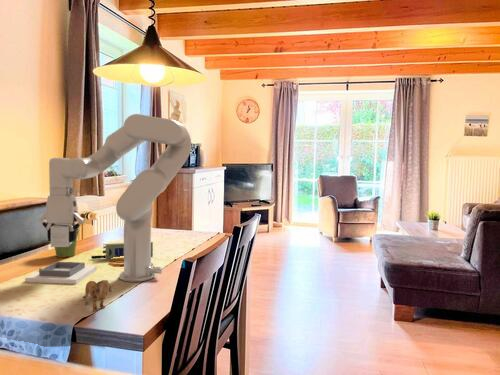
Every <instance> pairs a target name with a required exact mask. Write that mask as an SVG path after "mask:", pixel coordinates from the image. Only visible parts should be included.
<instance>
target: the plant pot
mask: <svg viewBox="0 0 500 375" xmlns="http://www.w3.org/2000/svg"><path fill="white" fill-rule="evenodd" d="M80 231H81V229H80V228H78V229H77V230H76V239H75V241H73V242H72V243H71V245H70V246H69V247H54V250H55V251H54V252H55V256H56V257H57V258H62V259H63V258H64V259H65V258H66V257H69V258H71V257H74V256H75V255H76V249H77V242H78V236H79V232H80Z"/></svg>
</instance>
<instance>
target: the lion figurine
mask: <svg viewBox="0 0 500 375" xmlns="http://www.w3.org/2000/svg"><path fill="white" fill-rule="evenodd" d="M114 289H115V286H114V285H112V284H111V283H109V280H108V279H102V280H99V281H97V282H96V281H95V280H89V281H88V282H87V283H86V285H85V288H84V291H85V295H83V296H82V298H83V299H85V300H84V304H85V305H84V306H87V304H88V305H89V296H90V300H91V302H92V312H97V311H98V307H97V302H99V307H100V309H105V307H106V306H105V305H104V301H105V300H106V298H107V297H108V296H109V294H112V293H113V292H114Z"/></svg>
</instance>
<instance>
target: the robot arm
mask: <svg viewBox="0 0 500 375" xmlns="http://www.w3.org/2000/svg"><path fill="white" fill-rule="evenodd" d="M144 142H151V143H157V144H163V145H167V146H166V148H165V150H164V151H163V152H162V153H161V154H160V155H159V156H158V158H157V160H155V162H154V163H153V164H152V165H151V167H150V168H146V169H144V170H142V171H141V172H140V173H138V175H137V176H136V177H135V178H134V179H133V180H132V181H131V183H130V184H129V186H128V187H127V188H126V190H125V191H124V192H123V193H122V194H121V196H120V197H119V199H118V200H117V202H116V206H115V210H116V213H117V216H118V217H119V218H120V219H121V220H123V221H124V223H123V243H124V259H123V271H121V272H120V273H119V275H118V276H119V279H120V280H121V281H124V282H130V283H134V282H137V283H140V282H145V281H149V280H152V279H154V277H156V274H162V273H163V268H162V266H154V262H152V257H151V242H152V217H153V216H152V214H153V202H155V200H156V199H157V197H158V196H159V195H161V194H162V193H164V192H165V190H167V187H168V186H169V185H170V184H171V182H172V181H173V180H174V178H175V177H176V176H177V174H178V172H179V171H180V170H181V168H182V167H183V166H184V165H185V163H186V162H187V161H188V158H189V156H190V154H191V150H192V139H191V135H190V133H189V131H188V129H187V128H186V126H185V125H184V124H183V123H181V122H179V121H176V120H174V119H170V118H164V117H157V116H150V115H145V114H141V113H134V114H131V115H128V116H127V117H126V119H125V120H124V123H123V125H122V126H121V127H120V128H118V129H117V130H115V131H114V132H112V133H110V134H109V135H108V136H107V137H106V138H105V141H104V144H103V145H102V146H101V147H100V148H99V149H98V150H97V151H95V152H94V153H92V154H91V155H89V156H87V157H77V158H69V157H53V158H52V157H51V158H50V159H49V164H48V165H49V166H48V167H49V169H48V175H49V176H48V177H49V179H48V180H49V182H48V183H49V195H47V199H46V204H45V213H44V214H43V215H42V216H40V217H39V218H38V220H39V221H40V223H41V224H42V226H43V227H44V228H45V230H46V231H47V234H46V235H47V241H48V242H51V227H52V226H53V225H54V224H68V226H69V228H70V230H71V231H69V242H73V241H75V239H76V230H77V229H80V227H81V225H82V224H83V223H84V222H85V219H84V218H83V217H82V216H80V215H79V209H78V202H77V198H76V195H74V194H76V193H77V189H74V187H73V186H74V185H73V184H74V183H73V182H74V180H73V179H75V180H85V179H86V180H87V179H91V178H94V177H96V176H98V175H99V174H102V173H103V172H104V171H106V170H107V169H109V168H110V167H111V166H113V165H114V164H115V163H116V162H118V161H119V160H120V159H122V158H123V157H124V156H125V155H126V154H128V153H130V152H131V151H132V150H134V149H136V148H137V147H138V146H140V145H142V144H143V143H144Z"/></svg>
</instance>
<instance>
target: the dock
mask: <svg viewBox="0 0 500 375" xmlns="http://www.w3.org/2000/svg"><path fill="white" fill-rule="evenodd" d="M85 264H86V263H85V262H82V261H81V262H79V261H78V262H76V261H55V262H53V263H51V264H49V265H47V266H44V267H43V268H39V269H38V270H37V271H35V272H33V273H32V274H30V275H28V276H26V277H24V282H25V283H42V284H43V283H44V284H45V283H46V284H47V283H48V284H65V283H66V284H67V285H69V284H70V285H77V284H78V283H80V282H81V281H82V280H84V279H86V278H88V277H89V276H90V275H92V274H93V273H95V272H96V271H98V268H97V267H98V266H97V265H85Z"/></svg>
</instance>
